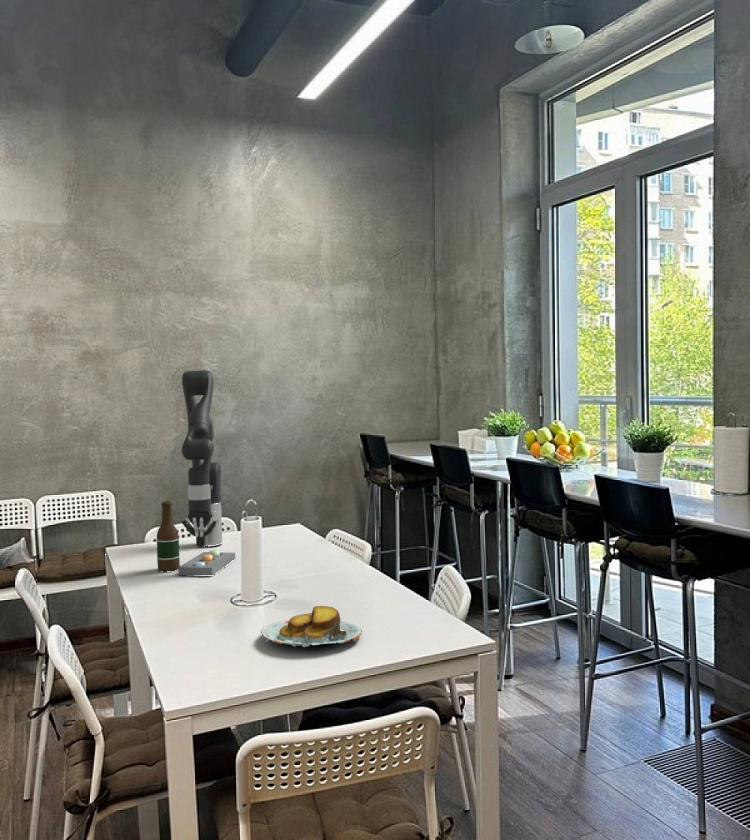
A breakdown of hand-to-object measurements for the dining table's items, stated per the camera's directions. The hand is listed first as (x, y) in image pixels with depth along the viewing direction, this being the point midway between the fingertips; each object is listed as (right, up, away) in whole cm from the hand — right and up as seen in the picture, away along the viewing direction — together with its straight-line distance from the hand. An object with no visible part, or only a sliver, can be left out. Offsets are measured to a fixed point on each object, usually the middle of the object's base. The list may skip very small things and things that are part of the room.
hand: (201, 547), depth 263 cm
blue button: (0, -8, -2) cm, 8 cm away
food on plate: (+44, -12, -69) cm, 83 cm away
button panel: (+1, -8, +6) cm, 10 cm away
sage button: (+2, -6, +12) cm, 14 cm away
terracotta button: (+1, -7, +5) cm, 9 cm away
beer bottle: (-12, -9, +4) cm, 15 cm away
